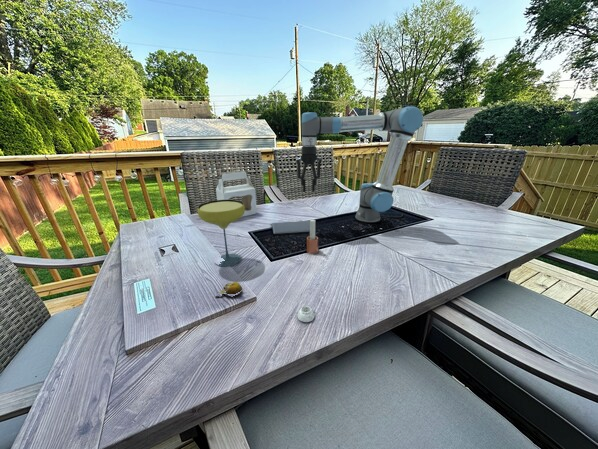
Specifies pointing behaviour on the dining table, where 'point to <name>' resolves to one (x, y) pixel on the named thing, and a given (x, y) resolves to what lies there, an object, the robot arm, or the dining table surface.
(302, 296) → the dining table surface
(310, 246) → the pen cup
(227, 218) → the cocktail glass
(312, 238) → the stylus
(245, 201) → the gable box
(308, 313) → the lidless jar
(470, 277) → the dining table surface
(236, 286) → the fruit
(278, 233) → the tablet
